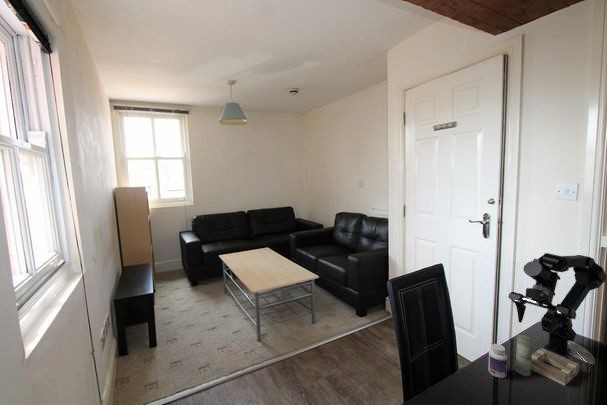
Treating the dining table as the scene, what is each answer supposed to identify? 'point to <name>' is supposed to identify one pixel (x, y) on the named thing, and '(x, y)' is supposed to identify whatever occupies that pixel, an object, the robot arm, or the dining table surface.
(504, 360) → the pill bottle
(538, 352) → the holder
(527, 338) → the peg
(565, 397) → the dining table surface
